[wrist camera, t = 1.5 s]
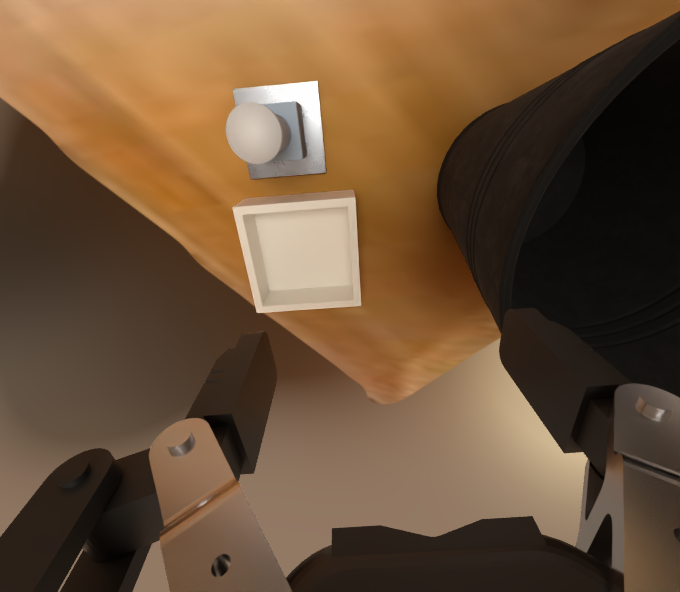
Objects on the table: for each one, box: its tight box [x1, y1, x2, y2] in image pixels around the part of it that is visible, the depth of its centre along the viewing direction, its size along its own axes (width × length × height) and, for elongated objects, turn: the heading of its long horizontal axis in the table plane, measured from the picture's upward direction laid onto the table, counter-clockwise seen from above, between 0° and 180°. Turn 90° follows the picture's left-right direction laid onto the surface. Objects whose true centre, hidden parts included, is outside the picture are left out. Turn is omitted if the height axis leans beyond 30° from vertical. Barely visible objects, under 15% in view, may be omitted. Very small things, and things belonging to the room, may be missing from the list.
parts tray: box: [232, 189, 361, 313], centre depth 44 cm, size 15×15×6 cm
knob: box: [226, 101, 307, 164], centre depth 33 cm, size 6×6×14 cm
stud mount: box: [233, 81, 326, 179], centre depth 38 cm, size 10×10×5 cm
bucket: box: [437, 11, 680, 398], centre depth 29 cm, size 27×28×30 cm
